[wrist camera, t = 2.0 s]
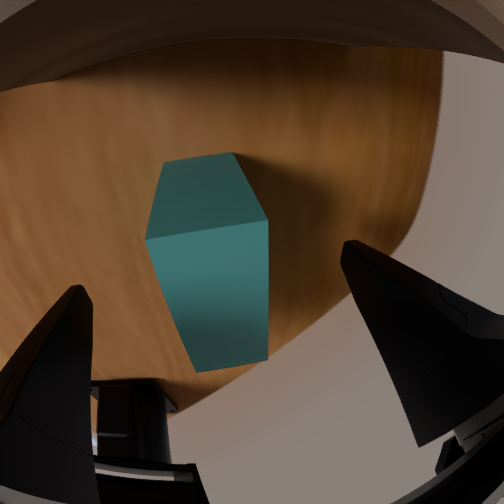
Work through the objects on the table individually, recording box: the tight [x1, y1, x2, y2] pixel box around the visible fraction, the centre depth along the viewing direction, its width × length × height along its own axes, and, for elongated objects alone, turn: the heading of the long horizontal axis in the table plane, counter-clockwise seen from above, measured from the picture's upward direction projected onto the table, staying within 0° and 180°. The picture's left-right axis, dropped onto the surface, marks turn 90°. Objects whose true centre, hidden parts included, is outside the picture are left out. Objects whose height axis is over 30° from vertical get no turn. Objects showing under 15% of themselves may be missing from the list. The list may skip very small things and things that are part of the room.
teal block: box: [145, 152, 269, 373], centre depth 9 cm, size 6×2×5 cm, turn 2°
